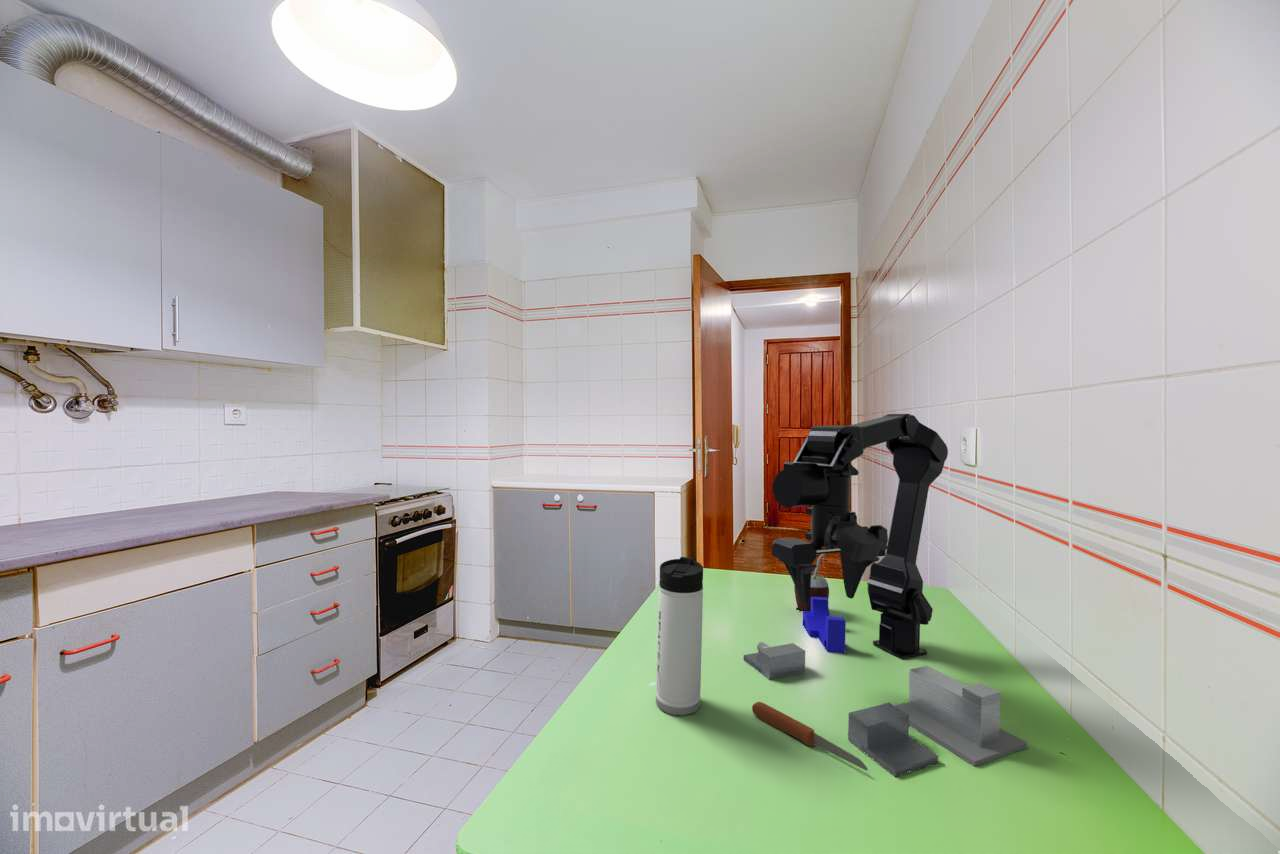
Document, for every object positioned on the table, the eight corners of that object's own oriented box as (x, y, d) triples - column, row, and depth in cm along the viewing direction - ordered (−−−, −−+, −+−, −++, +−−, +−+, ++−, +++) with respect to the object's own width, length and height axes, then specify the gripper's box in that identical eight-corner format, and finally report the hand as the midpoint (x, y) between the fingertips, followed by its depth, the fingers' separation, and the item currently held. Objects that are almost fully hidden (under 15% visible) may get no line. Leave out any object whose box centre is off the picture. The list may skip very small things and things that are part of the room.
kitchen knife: (750, 715, 67) (751, 701, 67) (756, 712, 68) (757, 697, 68) (864, 780, 55) (865, 762, 55) (870, 775, 56) (870, 757, 56)
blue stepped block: (802, 625, 100) (803, 596, 100) (825, 627, 99) (826, 597, 99) (818, 652, 88) (819, 618, 88) (844, 654, 87) (845, 620, 87)
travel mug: (704, 695, 72) (708, 559, 72) (694, 720, 66) (698, 571, 66) (663, 687, 74) (667, 554, 74) (650, 710, 68) (653, 565, 68)
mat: (937, 698, 73) (937, 694, 73) (1027, 747, 62) (1027, 742, 62) (888, 711, 69) (888, 707, 69) (974, 766, 58) (974, 761, 58)
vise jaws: (777, 653, 86) (777, 633, 86) (938, 762, 59) (938, 733, 59) (743, 659, 84) (744, 639, 84) (895, 777, 56) (896, 746, 56)
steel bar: (926, 700, 71) (927, 657, 71) (998, 741, 62) (999, 692, 62) (908, 704, 70) (909, 661, 70) (980, 747, 61) (981, 697, 61)
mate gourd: (799, 605, 111) (801, 538, 111) (836, 613, 107) (838, 544, 107) (788, 614, 105) (790, 544, 105) (826, 624, 100) (828, 550, 101)
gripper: (821, 514, 68) (818, 627, 68) (916, 509, 75) (914, 611, 75) (770, 502, 78) (768, 601, 78) (858, 499, 85) (856, 589, 85)
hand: (828, 600), depth 79 cm, fingers open, 9 cm apart
